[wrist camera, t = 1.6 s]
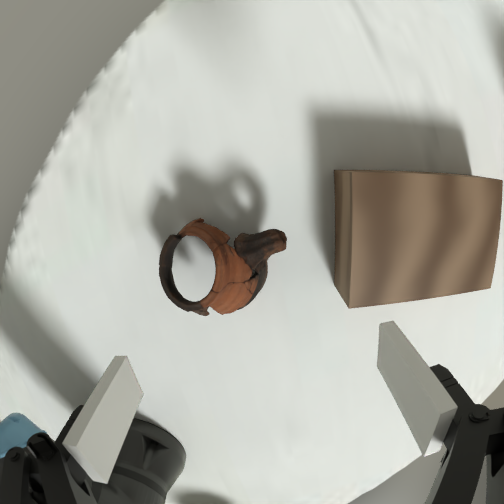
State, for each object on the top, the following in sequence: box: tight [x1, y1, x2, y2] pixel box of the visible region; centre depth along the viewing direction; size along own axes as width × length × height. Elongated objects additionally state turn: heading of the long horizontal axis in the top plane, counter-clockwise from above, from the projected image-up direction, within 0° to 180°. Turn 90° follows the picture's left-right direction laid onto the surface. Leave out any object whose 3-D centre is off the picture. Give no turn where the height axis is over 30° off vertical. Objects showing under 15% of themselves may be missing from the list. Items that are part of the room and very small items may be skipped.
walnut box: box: [334, 170, 503, 308], centre depth 27 cm, size 18×12×6 cm, turn 93°
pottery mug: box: [159, 218, 287, 316], centre depth 29 cm, size 12×10×8 cm
